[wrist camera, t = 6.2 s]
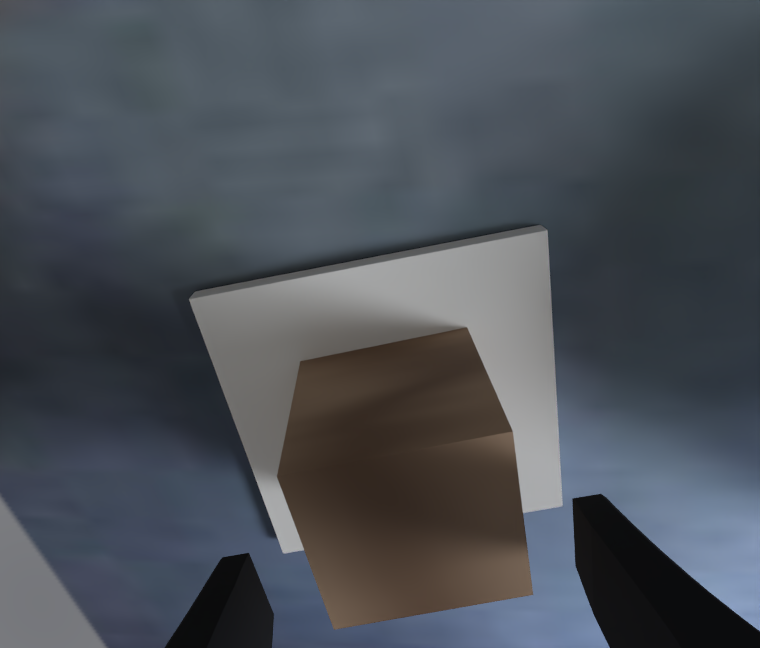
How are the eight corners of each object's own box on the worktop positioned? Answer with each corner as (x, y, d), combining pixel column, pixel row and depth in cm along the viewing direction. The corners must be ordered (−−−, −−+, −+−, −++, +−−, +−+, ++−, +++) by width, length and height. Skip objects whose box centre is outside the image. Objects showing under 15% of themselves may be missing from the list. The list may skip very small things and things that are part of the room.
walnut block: (467, 327, 15) (513, 431, 11) (487, 460, 17) (532, 595, 13) (300, 361, 16) (276, 476, 11) (340, 488, 18) (333, 629, 13)
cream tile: (540, 224, 15) (547, 230, 14) (556, 493, 19) (562, 506, 18) (195, 291, 15) (188, 299, 15) (285, 540, 19) (283, 553, 19)
